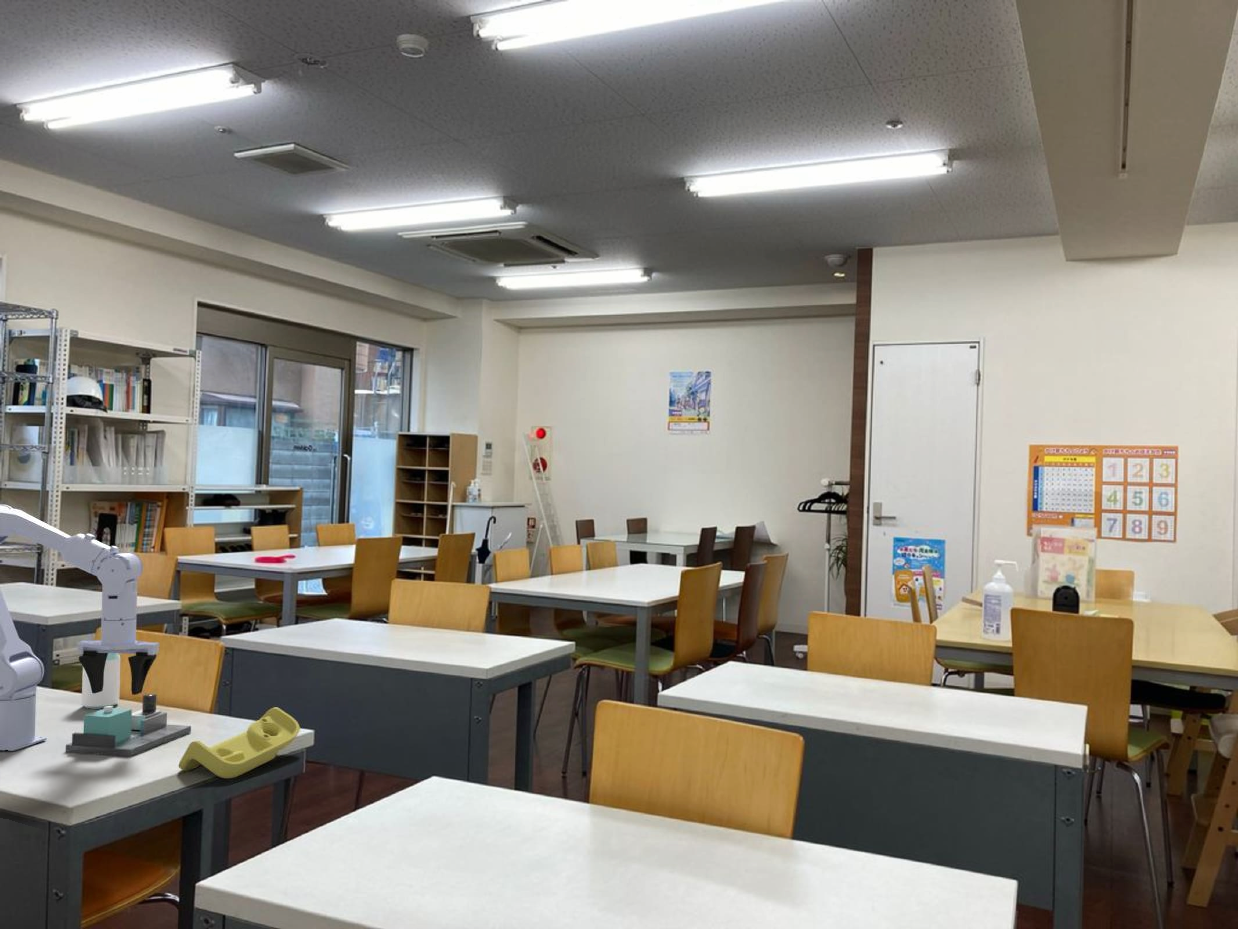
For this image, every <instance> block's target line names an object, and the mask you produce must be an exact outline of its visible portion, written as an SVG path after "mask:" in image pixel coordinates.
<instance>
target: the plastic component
mask: <svg viewBox="0 0 1238 929" xmlns="http://www.w3.org/2000/svg"><path fill="white" fill-rule="evenodd" d="M300 729H301V727H300V724H299V722H298V721H297V720H296V719H295V718H294V717H293V716H292V715H290V714H289V713H287V712H285V711H284V710H282V709H281V708H279V707H276V706H275V707H272V708H270V709H268V710H267V711H266V712H265V714H264V715H262V716H261V717H260V719H258V720H256V721H253V722H252V723H251V724H250V725H249V726H248V728H247V730H246V731H244V732H242V733H239V734H237V735H235V736H231V738H228V739H226V740H223V741H221V742H220V743H217V744H214V745H212V746H211V747H208V746H207V745H205V744H204V743H203V742H201V741H199V740H194V741H192V742H191V743H189V745H188V747H187V748H186V750H185V752H184V753H183V756H182V757H181V759H180V761H179V763H178V768H179V769H181V770H182V771H184V772H187V771H191V770H193V769H192V768H194V769H195V767H196V768H197V766H198V767H200V766H203V767H204V768H206V769H207V770H208V771H210V772H212V773H213V774H214V775H215V776H218V777H219V778H222V779H234V778H236V777H239V776H242V775H243V774H245V773H248V772H249V771H251V770H254V769H255V768H257V767H259V766H261V765H264V764H265V763H267V762H270V761H272V760H273V759H275V757H276V755H277V754H278V753H279V751H281V750H283V749H285V748H286V747H288V746H289V745H290V744H291V743H292V742H293V741H294V740H295V739H296V738H297V736H298V734H300V731H301V730H300ZM201 764H202V765H201ZM199 765H200V766H199ZM190 769H191V770H190Z"/></svg>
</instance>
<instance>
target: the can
mask: <svg viewBox="0 0 1238 929" xmlns="http://www.w3.org/2000/svg"><path fill="white" fill-rule="evenodd" d="M120 678H121V656H120V653H108V655H107V659H106V663H105V668H104V683H103V690H102V691H101V692H98V693H92V690H91V686H90V682H89V679H88V676H87V673H86V671H85V669H84V667H83V666H82V681H81V682H82V683H81V685H82V686H81V688H82V689H81V705H82V707H85V708H86V707H87V708H86V709H88V708H91V709H90V710H102V709H101V708H103V709H104V707H105V706H113V707H114V705H115V706H116V705H117V704H118V703H119V702H120V682H121V679H120Z"/></svg>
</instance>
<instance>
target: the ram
mask: <svg viewBox="0 0 1238 929" xmlns="http://www.w3.org/2000/svg"><path fill="white" fill-rule="evenodd" d="M157 700H158V699H157V694H156V693H146V694H143V695H142V708H141V709H140V710H137V711H132V720H131V729H135V730H140V725H141V720H143V719H146V718H149V717H152V716H155V715H157V714H160V713H163V710H161V709H157Z"/></svg>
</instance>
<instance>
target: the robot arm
mask: <svg viewBox="0 0 1238 929" xmlns="http://www.w3.org/2000/svg"><path fill="white" fill-rule="evenodd" d="M10 536H19V537H22V538H24V539H27V540H29V541H33V542H34V543H36V544H39V545H42V546H44V547H47V548H49V549H52V550H53V551H57V552H59V553H60V555H61V558H62V561H63V562H64V563H67V564H69V565H71V566H73V567H76V568H77V569H80V570H82V571H85V573H88V574H91V575H93V576H96V578H97V579H98V581H99V582H100V583H101V585H102V587H101V588H102V594H101V620H100V621H101V623H100V624H101V626H100V629H101V630H100V640H81V641H79V642H77V647H76V648H77V650H76V651H77V653H78V654H82V655H80V656H78V661H79V663H80V664H81V666H82V668H83V667H84V669H85V671H86V673H87V676H88V679H89V682H90V686H91V690H92V693H98V692H101V691H102V690H103V683H104V668H105V663H106V659H107V655H108V653H118V654H129V655H130V654H131V655H132V656H129V657H127V658H128V663H129V668H130V674H131V675H130V676H131V686H130V687H131V688H130V689H131V690H130V691H131V695H132V696H133V695H134V696H135V695H138V694H142V693H143V688H144V685H145V681H146V678H147V675H148V673H149V671H150V669H151V668H152V665H153V664H154V661H155V660H156V658H157V654H160V653H159V652H160V643H159V642H150V641H149V642H148V641H142V640H137V615H138V614H137V612H138V611H137V610H138V609H137V608H138V580H139V578H140V577H141V575H142V574H143V571H144V566H143V565H144V564H143V561H142V560H141V558H140V557H139V556H138V555H137V554H135V553H134V552H132V551H122V552H120V551H119V549H120V548H119V547H118V546H116V545H111V546H109V545H108V544H105V543H103V542H100V541H99V540H97V539H95V538H96V536H95V535H94V534H91V533H85V534H83V533H78V534H75V535H72V536H71V535H69V534H67V533H65V532H63V531H61V530H59V529H58V528H55V527H54V526H52V525H51V524H50V525H49V524H48V523H46V522H44V521H41V520H40V519H38V518H36V517H34V516H32V515H30V514H29V513H27V512H25V511H23V510H21V509H18V508H13V507H12V506H9V505H8V504H3V503H2V504H1V503H0V545H1V544H3V542H5V541H6V540H8V539H9V538H10ZM10 613H11V612H10V610H9V608H8V605H7V603H6V600H5V597H4V596H3V592H2V590H1V589H0V751H5V750H8V751H9V752H15V751H17V750H20V749H23V748H27V747H29V746H32V745H35V744H38V743H41V742H44V741H46V740H47V737H46V736H36V715H37V714H36V713H37V712H36V711H37V710H36V709H37V685H38V684H39V683H40V682H41V681H42V680H43V677H44V676H45V668H44V667H45V666H44V663H43V662H42V660H41V659H40V658H39V657H37V656H36V655H35V654H34V652H33V650H32V648H31V646H30V645H29V644H28V643H26V642H25V641H24V640H22V639H21V638H20V637H19V634H18V630H17V629H16V627H15V624H14V621H13V618H12V616H11V614H10Z"/></svg>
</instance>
